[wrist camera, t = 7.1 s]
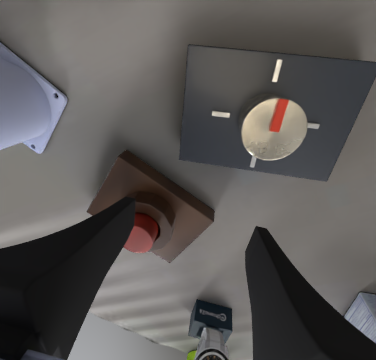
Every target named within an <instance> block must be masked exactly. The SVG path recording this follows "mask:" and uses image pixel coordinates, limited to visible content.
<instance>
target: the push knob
mask: <svg viewBox="0 0 376 360" xmlns="http://www.w3.org/2000/svg"><path fill="white" fill-rule="evenodd" d="M157 233H158V225H157V223H156V221H155V220H154V219H153V218H152V217H150V216H149V215H147V214H144V213H135V223H134V227H133V229H132V231H131V234H130V236H129V238H128V240H127V242H126V243H125V245H124V246H123V247H124V248H126V249H127V250H129V251H131V252H135V253H144V252H147V251H149V250H150V249H151V248H152V246H153V243H154V241H155V238H156V236H157Z"/></svg>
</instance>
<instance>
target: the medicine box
mask: <svg viewBox="0 0 376 360" xmlns="http://www.w3.org/2000/svg"><path fill="white" fill-rule="evenodd" d="M344 318H345V319H346V320H348V321H349V322H350V323H351V324H352V325H354V326H355V327H356V328H357V329H358V330H360V331H361V332H362V333H363V334H364V335H366V336H367V337H368V338H370V339H371V340H372V341H373V342H375V343H376V294H370V293H363V292H360V293H359V295H358V296H357V298H356V299H355V301H354V302H353V304H352V305H351V307H350V309H349V310H348V312H347V313H346V315H345V316H344Z"/></svg>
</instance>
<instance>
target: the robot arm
mask: <svg viewBox="0 0 376 360" xmlns="http://www.w3.org/2000/svg"><path fill="white" fill-rule="evenodd" d="M56 93H57V94H58V97H57V96H56ZM66 104H67V97H66V96H65V95H64V94H63V93H62V92H61V91H59V90H58V89H57V88H56V87H54V86H53V85H52V84H51V83H50V82H48V81H47V80H46V79H45V78H43V77H42V76H41V75H40V74H39V73H37V72H36V71H35V70H34V69H32V68H31V67H30V66H29V65H27V64H26V63H25V62H24V61H23V60H21V59H20V58H19V57H18V56H16V55H15V54H14V53H13V52H12V51H10V50H9V49H8V48H7V47H5V46H4V45H3V44H2V43H0V150H1V149H4V148H7V147H10V146H13V145H15V144H18V143H21V142H23V143H24V144H25V145H27V146H28V147H29V148H31V149H32V150H34V151H35V152H36V153H42V152H43V151H44V149H45V147H46V145H47V143H48V141H49V139H50V137H51V135H52V133H53V130H54V128H55V126H56V124H57V122H58V120H59V118H60V116H61V114H62V112H63V110H64V108H65V106H66ZM34 145H35V146H34ZM135 203H136V199H135V198H131V197H124V198H122V199H121V200H119V201H117V202H116V203H114V204H113V205H111V206H109V207H108V208H106V209H104V210H102V211H101V212H99V213H97V214H95V215H93V216H92V217H90V218H88V219H86V220H84V221H82V222H80V223H78V224H76V225H73V226H71V227H69V228H66V229H64V230H61V231H59V232H56V233H53V234H50V235H47V236H45V237H42V238H39V239H35V240H32V241H29V242H25V243H22V244H18V245H14V246H10V247H6V248H1V249H0V360H67V359H68V356H69V354H70V352H71V349H72V347H73V344H74V342H75V340H76V338H77V335H78V333H79V331H80V328H81V326H82V324H83V322H84V319H85V317H86V315H87V313H88V311H89V309H90V306H91V304H92V302H93V300H94V298H95V296H96V294H97V292H98V290H99V288H100V286H101V284H102V282H103V280H104V278H105V276H106V274H107V272H108V271H109V269H110V267H111V266H112V264H113V263H114V261H115V259H116V258H117V256H118V255H119V253H120V251H121V250H122V248H123V246H124V245H125V243H126V242H127V240H128V238H129V236H130V234H131V231H132V229H133V227H134V223H135ZM245 265H246V275H247V282H248V290H249V297H250V304H251V312H252V331H253V360H376V343H375V342H373V341H372V340H371V339H370V338H368V337H367V336H366V335H364V334H363V333H362V332H361V331H360V330H358V329H357V328H356V327H355V326H354V325H352V324H351V323H350V322H349V321H348V320H346V319H345V318H344V317H343V316H342V315H341V314H340V313H339V312H337V311H336V310H335V309H334V308H333V307H332V306H331V305H330V304H329V303H328V302H327V301H326V300H325V299H324V298H323V297H322V296H321V295H320V294H319V293H318V292H317V291H316V290H315V289H314V288H313V287H312V286H311V285H310V284H309V283H308V282H307V281H306V280H305V278H304V277H303V276H302V275H301V274H300V273H299V271H298V270H297V269H296V268H295V267H294V265H293V264H292V263H291V262H290V260H289V259H288V258H287V256H286V255H285V254H284V252H283V251H282V250H281V248H280V247H279V245H278V244H277V243H276V241H275V240H274V238H273V237H272V235H271V234H270V233H269V231H268V230H267V229H266V228H262V227H258V226H256V227H255V229H254V232H253V234H252V237H251V239H250V241H249V244H248V246H247V249H246V251H245Z"/></svg>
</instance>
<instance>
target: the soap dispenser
mask: <svg viewBox="0 0 376 360" xmlns="http://www.w3.org/2000/svg"><path fill="white" fill-rule="evenodd" d="M196 352H197V350H196V351H191V352H189V353H188V356H187V360H194V358H195V354H196Z"/></svg>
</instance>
